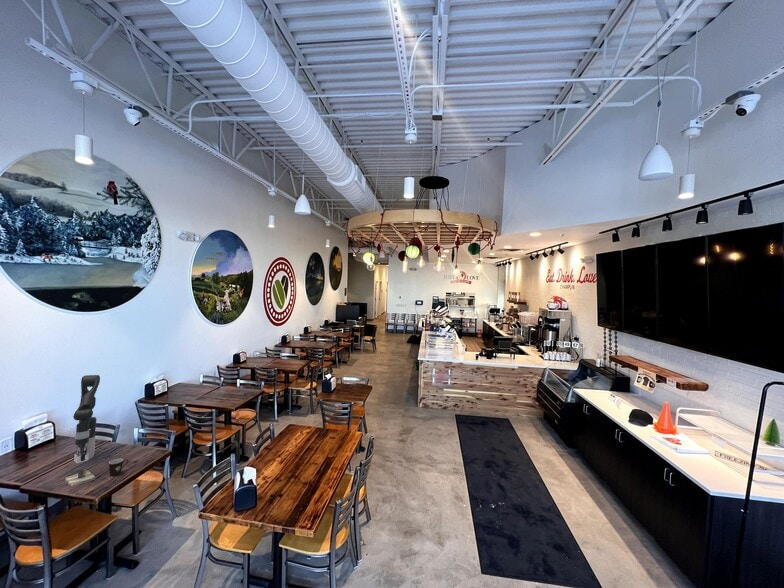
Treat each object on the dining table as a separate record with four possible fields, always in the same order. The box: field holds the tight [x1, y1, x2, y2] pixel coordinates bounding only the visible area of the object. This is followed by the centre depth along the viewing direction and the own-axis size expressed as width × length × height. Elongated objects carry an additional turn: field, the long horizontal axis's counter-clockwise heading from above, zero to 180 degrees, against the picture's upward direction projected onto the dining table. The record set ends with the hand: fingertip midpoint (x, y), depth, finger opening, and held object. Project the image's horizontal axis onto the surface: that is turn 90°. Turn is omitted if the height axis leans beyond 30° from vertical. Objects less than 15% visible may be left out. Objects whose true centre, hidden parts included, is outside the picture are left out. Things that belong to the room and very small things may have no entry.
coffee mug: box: [108, 458, 129, 478], centre depth 252 cm, size 12×9×10 cm
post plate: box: [64, 468, 96, 488], centre depth 243 cm, size 16×13×6 cm
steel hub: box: [73, 452, 89, 464], centre depth 243 cm, size 6×6×5 cm
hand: (81, 459), depth 243 cm, fingers closed on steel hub, 6 cm apart
